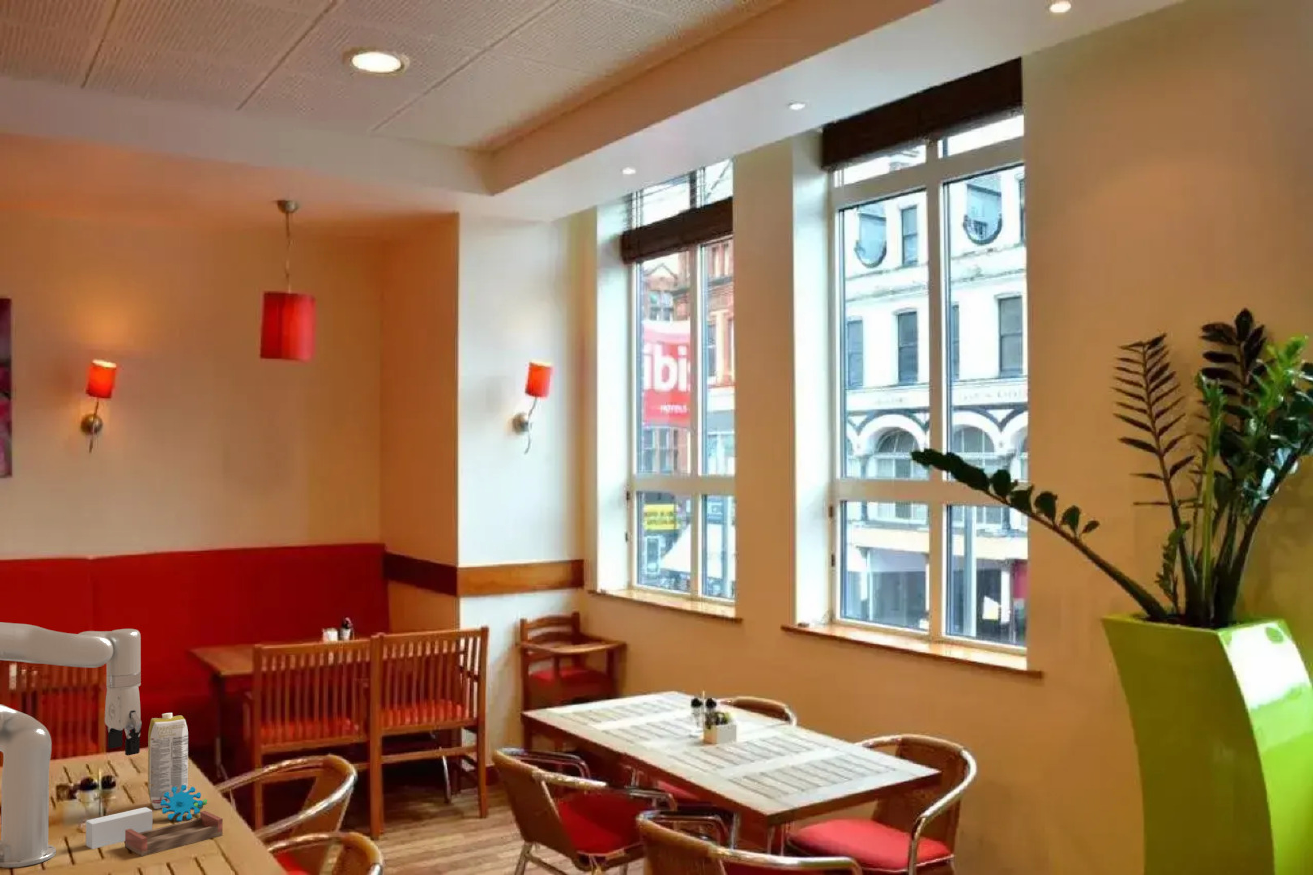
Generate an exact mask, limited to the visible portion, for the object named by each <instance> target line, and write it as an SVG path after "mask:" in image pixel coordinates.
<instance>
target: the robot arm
mask: <svg viewBox="0 0 1313 875" xmlns="http://www.w3.org/2000/svg"><path fill="white" fill-rule="evenodd" d="M141 639H142V637H141V633H140V631H139V630H138V629H134V628H121V629H113V630H112V631H111V630H110V631H108V630H105V631H103V630H102V631H99V630H98V631H97V630H96V631H95V630H87V631H82V632H79V633H78V634H77V633H70V632H69V633H67V632H63V631H56V630H51V629H47V628H44V627H40V626H38V625H34V624H33V625H32V624H27V623H13V622H2V621H1V622H0V661H11V662H20V663H21V662H22V663H28V664H44V665H52V666H62V667H63V666H64V667H75V668H91V669H92V668H99V667H103V666H104V665H106V694H105V703H104V704H105V706H104V707H105V709H104V724H105V725H106V726H107V731H108V733H107V736H108V737H107V739H108V740H107V742H108V743H107V744H108V745H107V746H108V747H107V748H108V749H111V750H112V749H115V748H116V749H117V748H121V747H122V746H123V730H124V732H125V736H126V738H125V739H124V749H125V750H124V754H125V756H127V757H128V756H132V755H136V754H139V753H141V752H140V751H141V750H140V748H141V746H140V744H141V743H140V742H141V741H140V737H141V732H142V720H141V700H140V699H141V698H140V690H139V687H140V686H142V685H141V684H142V683H141V681H142V680H141V678H142V677H141V675H142V674H141V673H142V672H141V670H142V669H141V667H142V666H141V664H142V663H141V662H142V661H141V659H142V658H141V657H142V656H141V653H142V652H141V650H142V649H141V648H142V647H141V646H142V645H141V643H142V642H141ZM52 743H53V742H52V737H51V734H50V732H49V730H48V729H47V727H46V726H45V725H44V724H43V723H41V722H40V721H39V720H37V719H36V718H35V717H33V716H31V715H29V714H26V713H24V712H21V711H20V710H19V711H18V710H16V709H14V708H11V707H9V706H6V705H5V704H0V752H1V753H2V754H3V758H2V759H3V763H2V771H1V792H0V793H1V813H0V814H1V816H0V817H1V821H0V822H1V824H0V825H1V827H0V830H1V832H0V836H1V839H0V868H7V869H9V868H20V867H21V868H22V867H27V866H28V867H29V866H32V865H37V864H41V863H43V862H46V861H48V860H50V859H51V858H53V857H54V856H55V855H56V853H57V850H56V849H57V848H56V846H54V845H51V844H49V810H50V807H49V805H50V804H49V802H50V801H49V797H50V796H49V795H50V782H49V781H50V764H51V763H50V762H51V757H52V756H51V755H52Z"/></svg>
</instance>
